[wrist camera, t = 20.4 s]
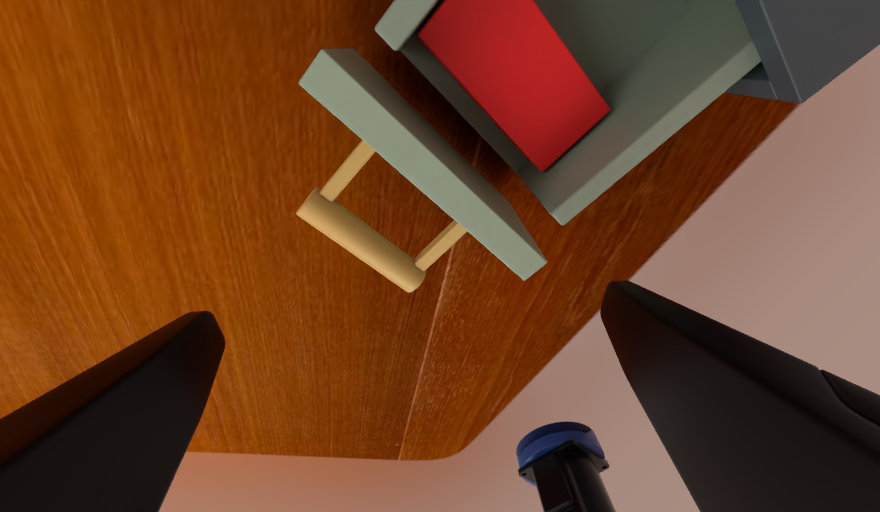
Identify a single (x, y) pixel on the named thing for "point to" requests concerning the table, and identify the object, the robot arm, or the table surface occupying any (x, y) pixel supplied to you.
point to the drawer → (456, 180)
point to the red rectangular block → (516, 73)
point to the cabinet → (805, 44)
